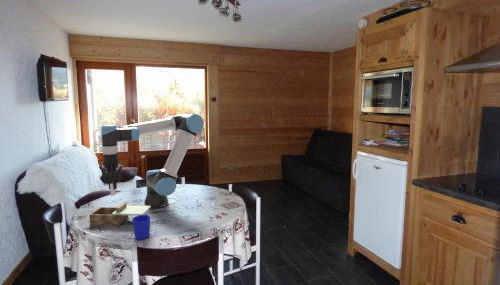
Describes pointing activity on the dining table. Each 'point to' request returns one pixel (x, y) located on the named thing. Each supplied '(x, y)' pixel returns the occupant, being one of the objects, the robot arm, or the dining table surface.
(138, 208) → the lid
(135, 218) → the mug
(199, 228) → the dining table surface
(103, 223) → the box
